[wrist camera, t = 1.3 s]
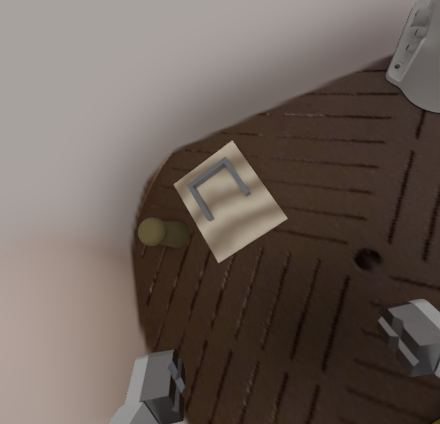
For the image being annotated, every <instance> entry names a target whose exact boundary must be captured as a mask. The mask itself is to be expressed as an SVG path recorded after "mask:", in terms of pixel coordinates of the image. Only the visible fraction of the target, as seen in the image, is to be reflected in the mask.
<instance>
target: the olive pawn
mask: <svg viewBox="0 0 440 424" xmlns="http://www.w3.org/2000/svg"><path fill="white" fill-rule="evenodd" d="M138 236H139V238H140V240H141V242H143V243H144V244H146V245H148V246H156V245H158V244H162V245H165V246H169V247H173V248H180V247H182V246H183V245H185V244H186V242H187V241H188V238H189V230H188V227H187V226H186V224H185V223H183V222H182V221H161V220H160V219H158V218H154V217H153V218H147V219H145V220H144V221H143V222H142V223H141V224H140V226H139V229H138Z"/></svg>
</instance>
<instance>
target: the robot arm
mask: <svg viewBox="0 0 440 424" xmlns="http://www.w3.org/2000/svg"><path fill="white" fill-rule="evenodd" d="M395 67H398V69H396V68H395ZM385 77H386V79H387V80H388V81H389V82H391V83H392V84H394V85H396V86H398V87H399V88H400V89H401V90H402V92H403V93H404V94H405V96H406V97H407V98H408V99H409V100H410V101H411V102H412V103H413V104H415V105H417V106H418V107H420V108H422V109H425V110H428V111H432V112H437V113H440V0H419V1H417V2H416V3H415V5H414V6H413V8H412V10H411V12H410V14H409V17H408V19H407V22H406V25H405V27H404V29H403V32H402V35H401V37H400V40H399V42H398V45H397V47H396V50H395V52H394V55H393V57H392V60H391V62H390V65H389V67H388V70H387V72H386V75H385ZM379 313H380V315H381V316H382V317H381V318H380V319H379V320H378V326H377V327H378V330H379V334H380V336H381V337H382V339H383V341H384V342H385V344H386V345H387V346H388V347H390V348H391V349H393V350H395V351H396V359H397V360H398V361H399V363H400V364H401V365H402V367H403V368H404V369H405V371H406V372H407V373H408V375H409V376H410V377H413V376H419V375H425V374H431V373H435V375H436V376H438V377H439V378H440V312H439V311H438V310H436V309H435V308H434V307H433V306H432V305H431V304H430V303H429V302H428V301H426V300H424V299H416V300H412V301H405V302H401V303H396V304H392V305H387V306H383V307H381V308H380V312H379ZM178 356H179V353H178V351H177V349H172V350H166V351H161V352H156V353H150V354H145V355H140V356H138V357H137V359H136V361H135V364H134V368H133V372H132V377H131V380H130V384H129V389H128V393H127V397H126V401H125V405H124V406H120V408H119V409H118V410H117V412H116V413H115V415H114V416H113V417H112V419H111V420H110V422H109V423H108V424H173V423H177V422H181V421H183V418H184V398H183V396H182V394H181V393H182V391H183V389H184V387H185V368H184V364H183V362H182V360H181V359H179V358H178Z"/></svg>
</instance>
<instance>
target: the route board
mask: <svg viewBox="0 0 440 424" xmlns="http://www.w3.org/2000/svg"><path fill="white" fill-rule="evenodd" d="M224 157H226V158H227V159H228V160H229V162H230V163H231V165H232V166H233V168H234V169H235V171H236V172H237V174H238V175H239V177H240V178H241V180H242V181H243V183H244V184H245V185H246V187H247V188H248V190H249V191H250V193H251V194H250V195H249V196H246V195H245V194H244V192H243V191H242V189H241V188H240V186H239V185H238V184H237V182H236V181H235V179H234V178H233V176H232V175H231V173H230V172H229V170H228V169H227V167H225V168H223V169H222V170H221V171H219V172H218V173H217V174H215V175H214V176H212V177H211V178H210V179H208V180H207V181H206V182H204V183H203V184H202V185H200V186H199V187H197V190H198V192H199V193H200V195H201V197H202V198H203V200H204V202H205V203H206V205H207V207H208V208H209V210H210V212H211V213H212V215H213V217H214V218H215V219H214V220H212V221H208V220H207V219H206V217H205V215H204V214H203V212H202V210H201V209H200V207H199V205H198V204H197V202H196V200H195V198H194V197H193V195H192V193H191V192H190V190H189V188H188V187H187V184H189V183H190V182H191V181H193V180H194V179H195V178H197V177H198V176H199V175H201V174H202V173H203V172H205V171H206V170H207V169H209V168H210V167H211V166H213V165H214V164H216V163H217V162H218V161H220V160H221V159H222V158H224ZM174 186H175V187H176V189H177V191H178V193H179V194H180V196H181V198H182V200H183V202H184V203H185V205H186V207H187V209H188V210H189V212H190V214H191V216H192V217H193V219H194V221H195V223H196V224H197V226H198V228H199V230H200V231H201V233H202V235H203V237H204V238H205V240H206V242H207V244H208V245H209V247H210V249H211V251H212V252H213V254H214V256H215V258H216V259H217V261H218V263H220V262H222V261H223V260H225V259H227V258H228V257H230V256H231V255H233V254H234V253H236V252H237V251H239V250H240V249H242V248H244V247H245V246H247V245H248V244H250V243H251V242H253V241H254V240H256V239H258V238H259V237H261V236H262V235H264V234H265V233H267V232H268V231H270V230H271V229H273V228H275V227H276V226H278V225H279V224H281V223H282V222H284V221H285V220H287V217H286V216H285V214H284V213H283V211H282V210H281V209H280V207H279V206H278V204H277V203H276V202H275V200H274V199H273V197H272V196H271V194H270V193H269V192H268V190H267V189H266V187H265V186H264V185H263V183H262V182H261V180H260V179H259V178H258V176H257V175H256V173H255V172H254V170H253V169H252V168H251V166H250V165H249V163H248V162H247V161H246V159H245V158H244V156H243V155H242V154H241V152H240V151H239V149H238V148H237V146H236V145H235V144H234V142H233V141H231V142H230V143H228V144H227V145H226V146H224V147H223V148H222V149H220V150H219V151H218V152H216V153H215V154H214V155H212V156H211V157H210V158H208V159H207V160H206V161H204V162H203V163H202V164H200V165H199V166H198V167H196V168H195V169H194V170H192V171H191V172H190V173H188V174H187V175H186V176H184V177H183V178H182V179H180V180H179V181H178V182H176V183H175V184H174Z"/></svg>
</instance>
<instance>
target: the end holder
mask: <svg viewBox="0 0 440 424" xmlns="http://www.w3.org/2000/svg"><path fill="white" fill-rule="evenodd" d="M225 167H227V169H228V170H229V172H230V173H231V175H232V176H233V178H234V179H235V181H236V182H237V184H238V185H239V186H240V188H241V189H242V191H243V192H244V194H245V195H246V196H249V195H250V194H251V193H250V191H249V190H248V188H247V187H246V185H245V184H244V183H243V181H242V180H241V178H240V177H239V175H238V174H237V172H236V171H235V169H234V168H233V166H232V165H231V163H230V162H229V160H228V159H227V158H226V157H224V158H222V159H221V160H220V161H218V162H217V163H216V164H214V165H213V166H211V167H210V168H209V169H207V170H206V171H205V172H203V173H202V174H201V175H199V176H198V177H197V178H195V179H194V180H193V181H191V182H190V183H189V184H187V187H188V188H189V190H190V192H191V193H192V195H193V197H194V198H195V200H196V202H197V204H198V205H199V207H200V209H201V210H202V212H203V214H204V215H205V217H206V219H207V220H208V221H212V220H214V219H215V218H214V217H213V215H212V213H211V212H210V210H209V208H208V207H207V205H206V203H205V202H204V200H203V198H202V197H201V195H200V193H199V192H198V190H197V187H199V186H200V185H202V184H203V183H204V182H206V181H207V180H208V179H210V178H211V177H212V176H214V175H215V174H217V173H218V172H219V171H221V170H222V169H223V168H225Z"/></svg>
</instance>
